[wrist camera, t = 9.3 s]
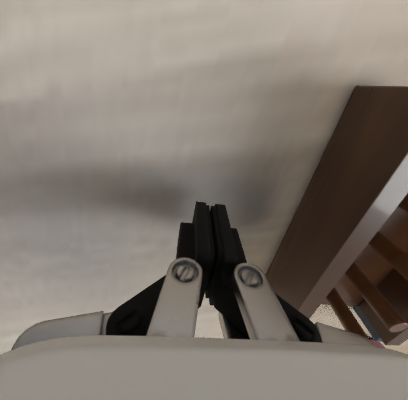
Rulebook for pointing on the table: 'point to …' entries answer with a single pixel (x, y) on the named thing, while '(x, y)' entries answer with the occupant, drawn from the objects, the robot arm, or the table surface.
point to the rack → (355, 221)
